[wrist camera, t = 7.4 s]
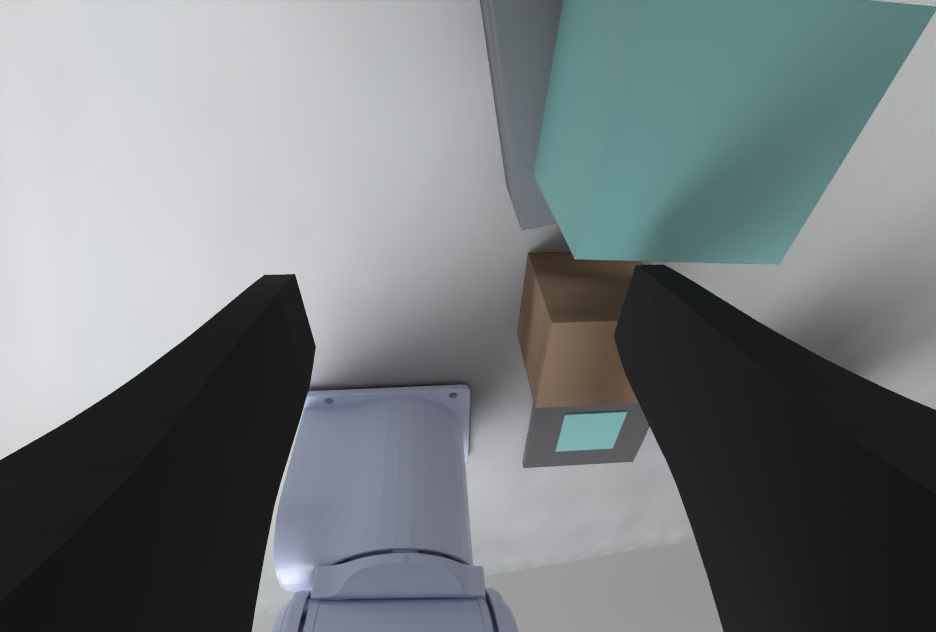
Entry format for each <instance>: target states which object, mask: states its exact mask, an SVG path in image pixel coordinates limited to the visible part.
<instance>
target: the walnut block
mask: <svg viewBox="0 0 936 632" xmlns="http://www.w3.org/2000/svg"><path fill="white" fill-rule="evenodd" d="M636 265H643V264H642V262H641V261H624V260H585V259H574V257H573V255H572V253H571V252H547V253H528V256H527V264H526V272H525V279H524V287H523V295H522V303H521V310H520V318H519V326H518V333H517V334H518V338H519V342H520V347H521V351H522V355H523V359H524V363H525V367H526V372H527V376H528V380H529V384H530V388H531V392H532V396H533V401H534V405H535V408H545V407H567V406H589V405H611V404H633V403H638V401H637V399H636V396H635V394H634V392H633V390H632V388H631V386H630V384H629V381H628V379H627V377H626V375H625V372H624V369H623V366H622V363H621V360H620V356H619V353H618V350H617V346H616V343H615V339H614V333H615V329H616V326H617V323H618V320H619V317H620V313H621V310H622V307H623V304H624V301H625V297H626V294H627V291H628V288H629V285H630V282H631V278H632V275H633V272H634V269H635V266H636Z"/></svg>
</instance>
